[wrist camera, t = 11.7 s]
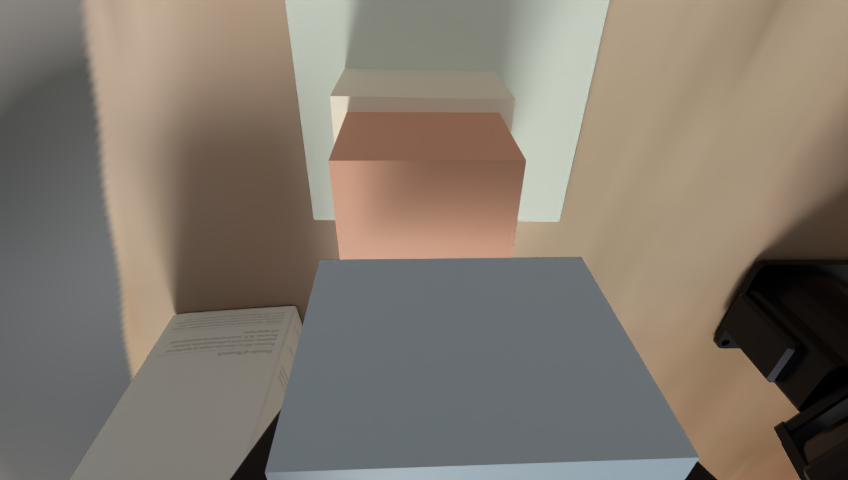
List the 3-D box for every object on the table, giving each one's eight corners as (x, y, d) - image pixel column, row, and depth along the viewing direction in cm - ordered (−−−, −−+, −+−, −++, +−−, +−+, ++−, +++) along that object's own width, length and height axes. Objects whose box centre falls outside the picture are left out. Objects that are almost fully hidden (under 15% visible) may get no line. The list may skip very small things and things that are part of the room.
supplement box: (170, 311, 25) (-2, 571, 14) (299, 302, 25) (220, 557, 14) (212, 393, 29) (101, 643, 19) (323, 386, 29) (275, 633, 19)
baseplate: (604, -14, 17) (612, -12, 16) (554, 213, 22) (559, 221, 22) (287, -23, 16) (282, -22, 16) (316, 211, 22) (313, 220, 21)
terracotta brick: (485, 239, 17) (504, 308, 14) (357, 240, 17) (345, 309, 14) (498, 112, 14) (526, 160, 11) (346, 111, 14) (328, 160, 11)
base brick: (494, 71, 18) (515, 99, 14) (480, 203, 21) (494, 250, 18) (344, 68, 17) (329, 95, 14) (354, 202, 21) (343, 250, 17)
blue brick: (538, 415, 11) (596, 611, 8) (341, 420, 11) (316, 626, 8) (580, 256, 8) (699, 457, 5) (319, 259, 8) (264, 472, 5)
